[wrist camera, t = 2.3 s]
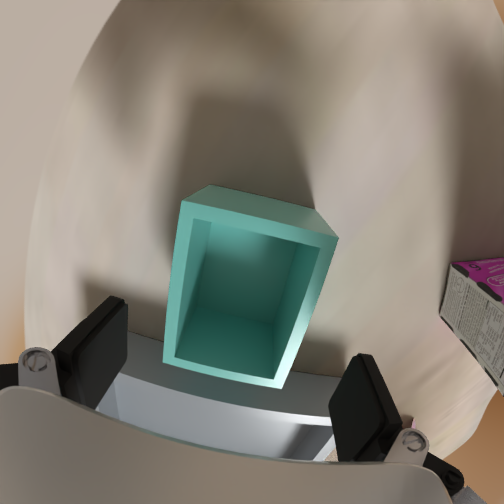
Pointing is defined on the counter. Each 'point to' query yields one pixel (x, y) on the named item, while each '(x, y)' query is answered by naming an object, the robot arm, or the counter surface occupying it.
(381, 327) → the counter surface
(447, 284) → the candy bar box
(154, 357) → the gray crate
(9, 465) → the robot arm
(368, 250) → the counter surface
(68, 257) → the counter surface
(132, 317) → the counter surface
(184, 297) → the teal crate
